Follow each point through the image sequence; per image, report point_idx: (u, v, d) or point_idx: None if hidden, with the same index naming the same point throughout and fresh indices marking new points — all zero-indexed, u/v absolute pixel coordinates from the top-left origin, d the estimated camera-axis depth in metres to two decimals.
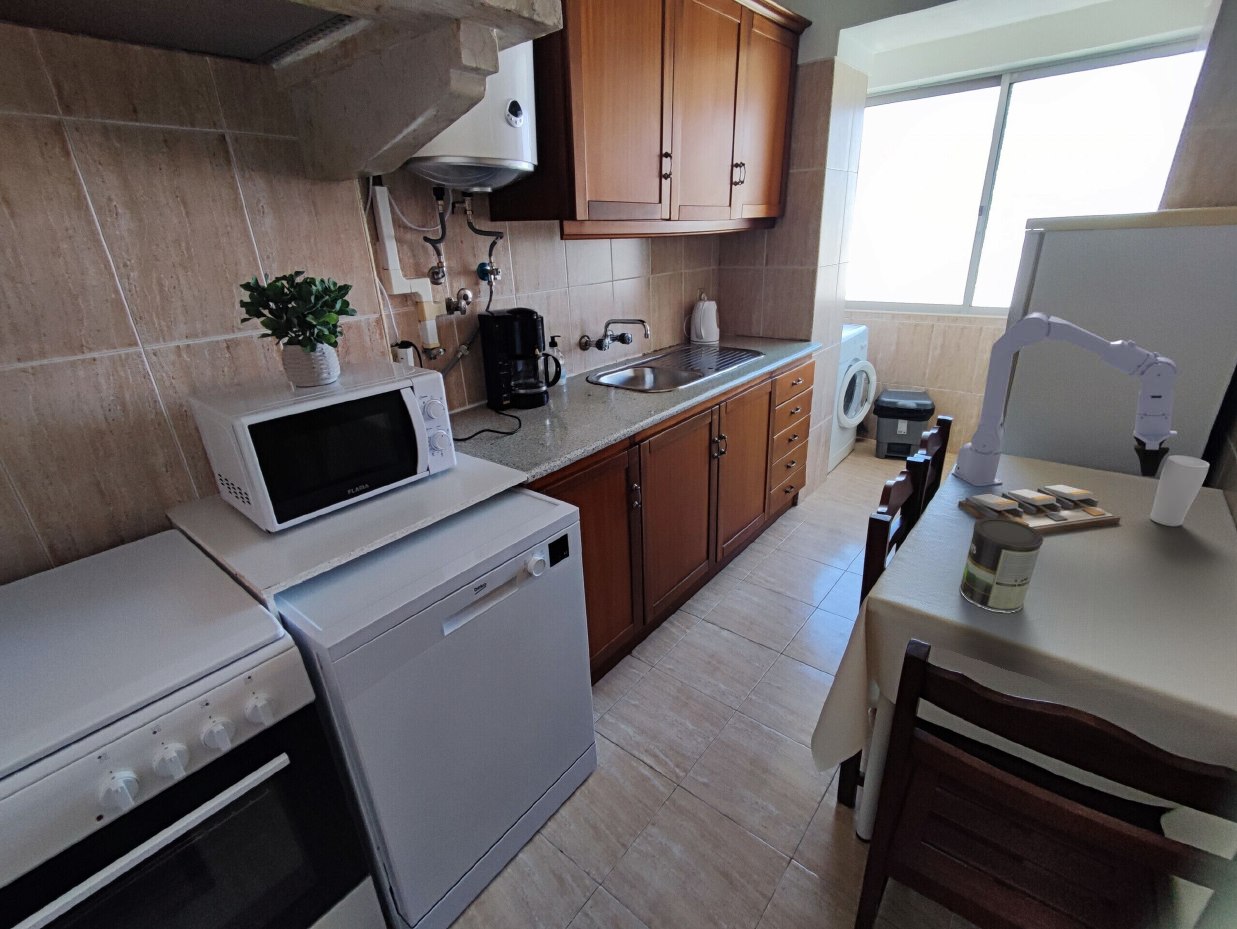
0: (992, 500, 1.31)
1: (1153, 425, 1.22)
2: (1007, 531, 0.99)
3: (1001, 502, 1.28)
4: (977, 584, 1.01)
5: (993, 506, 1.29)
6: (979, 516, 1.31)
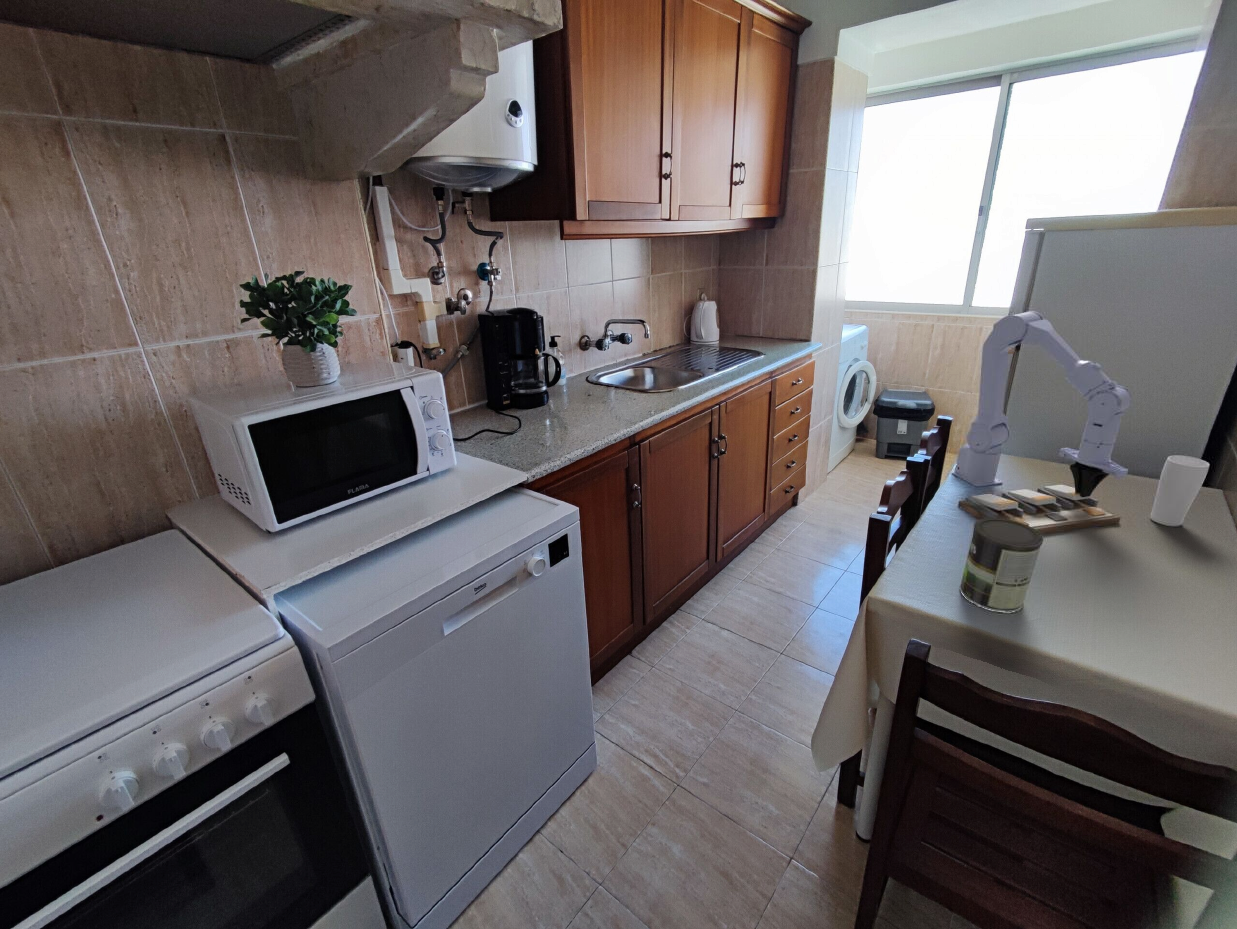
0: (992, 500, 1.31)
1: (1107, 453, 1.24)
2: (1007, 531, 0.99)
3: (1001, 502, 1.28)
4: (977, 584, 1.01)
5: (993, 506, 1.29)
6: (979, 516, 1.31)
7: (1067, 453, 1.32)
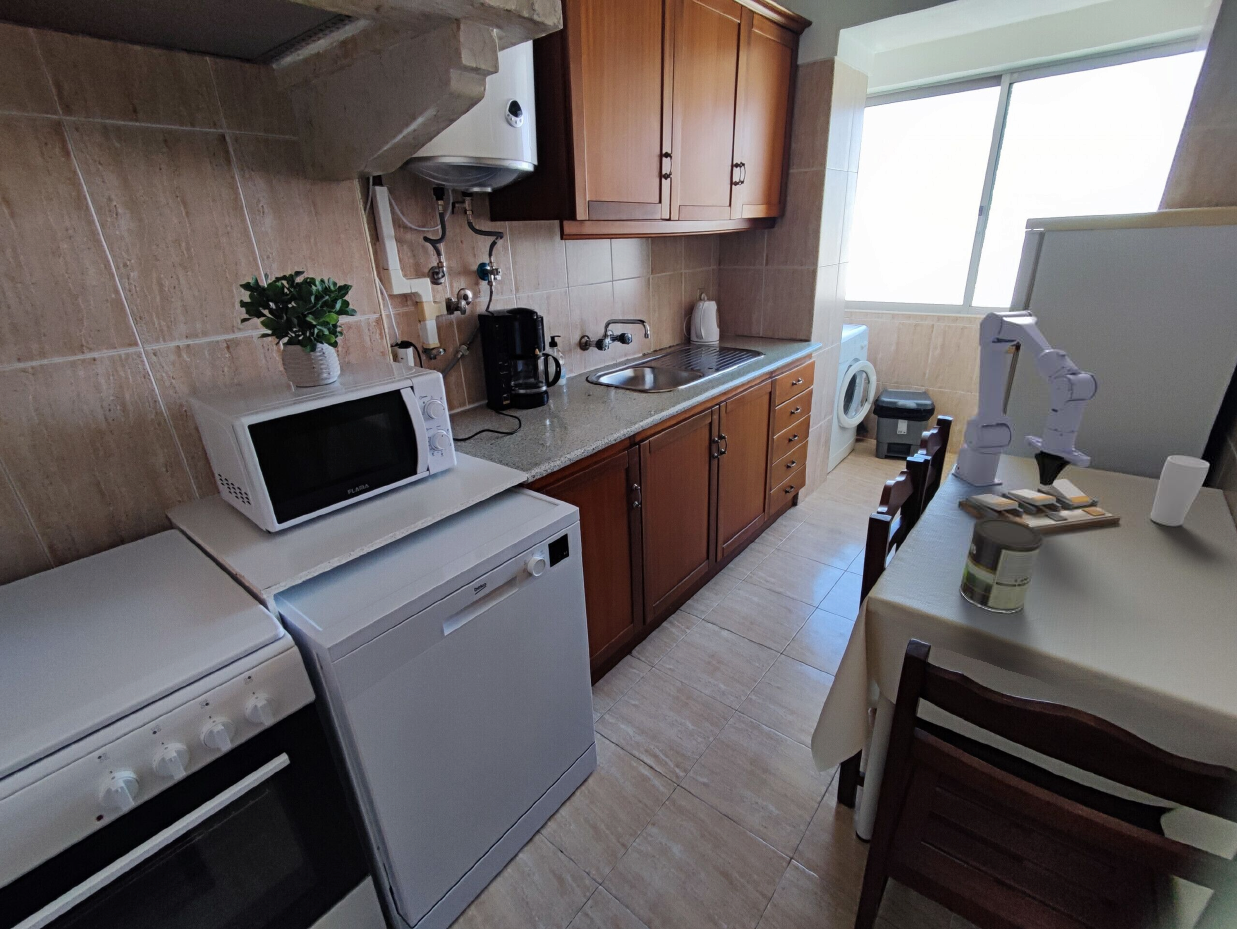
0: (992, 500, 1.31)
1: (1070, 441, 1.21)
2: (1007, 531, 0.99)
3: (1001, 502, 1.28)
4: (977, 584, 1.01)
5: (993, 506, 1.29)
6: (979, 516, 1.31)
7: (1031, 441, 1.29)
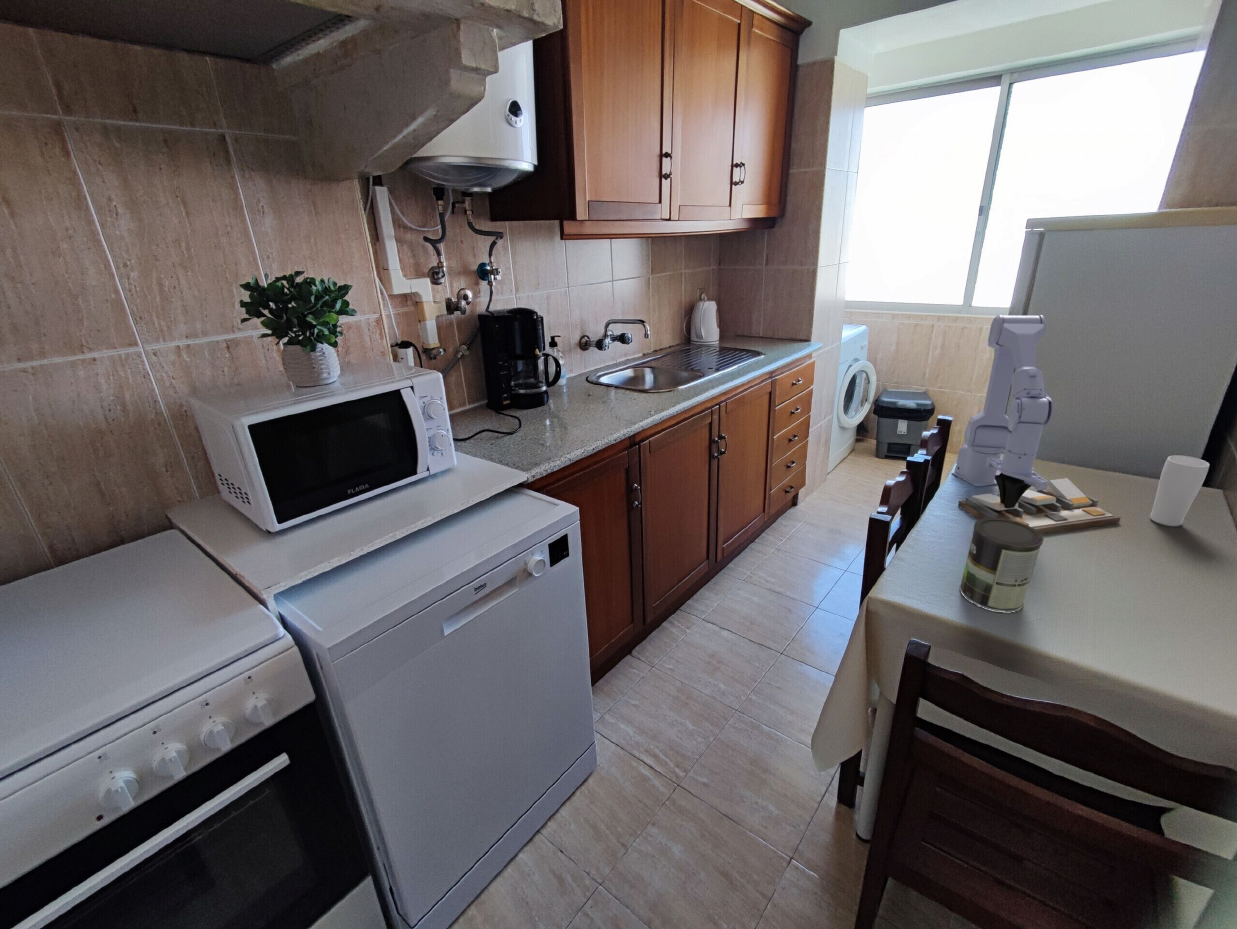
0: (992, 500, 1.31)
1: (1029, 464, 1.21)
2: (1007, 531, 0.99)
3: None
4: (977, 584, 1.01)
5: (993, 506, 1.29)
6: (979, 516, 1.31)
7: (992, 463, 1.29)
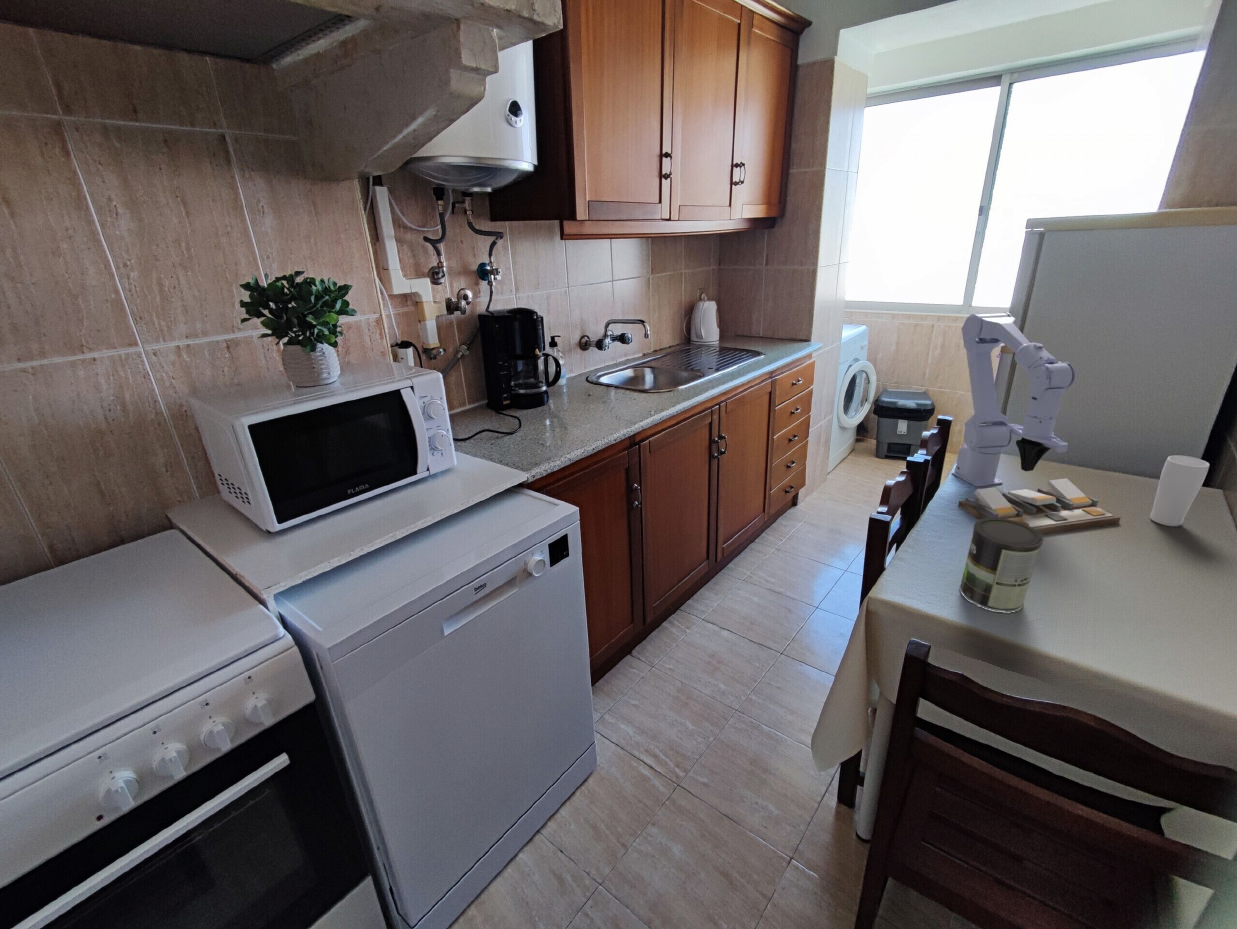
0: (994, 502, 1.30)
1: (1049, 428, 1.26)
2: (1007, 531, 0.99)
3: (1001, 510, 1.28)
4: (977, 584, 1.01)
5: None
6: (979, 516, 1.31)
7: (1013, 429, 1.34)
